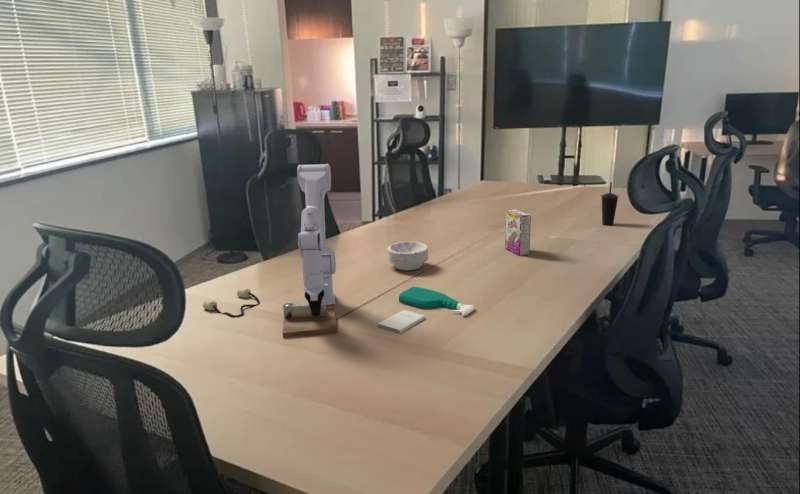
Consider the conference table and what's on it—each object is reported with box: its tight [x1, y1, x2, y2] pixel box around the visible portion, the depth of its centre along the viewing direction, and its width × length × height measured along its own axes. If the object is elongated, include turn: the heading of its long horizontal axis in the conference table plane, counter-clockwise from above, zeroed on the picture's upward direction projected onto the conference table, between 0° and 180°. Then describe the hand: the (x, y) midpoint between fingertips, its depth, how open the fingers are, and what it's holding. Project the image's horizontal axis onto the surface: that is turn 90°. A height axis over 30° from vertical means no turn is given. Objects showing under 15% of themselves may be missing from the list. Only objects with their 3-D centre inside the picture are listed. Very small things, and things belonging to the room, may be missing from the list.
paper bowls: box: [387, 241, 429, 271], centre depth 212 cm, size 15×15×8 cm
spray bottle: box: [398, 286, 475, 317], centre depth 176 cm, size 3×11×24 cm
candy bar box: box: [504, 208, 532, 257], centre depth 225 cm, size 11×5×16 cm, turn 22°
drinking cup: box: [600, 181, 619, 227], centre depth 262 cm, size 8×8×20 cm
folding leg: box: [282, 301, 328, 318], centre depth 167 cm, size 12×3×4 cm, turn 95°
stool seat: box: [282, 307, 338, 339], centre depth 164 cm, size 15×15×5 cm
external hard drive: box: [377, 309, 426, 334], centre depth 164 cm, size 2×8×12 cm
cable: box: [202, 287, 261, 318], centre depth 180 cm, size 16×16×4 cm
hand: (316, 315), depth 165 cm, fingers closed
